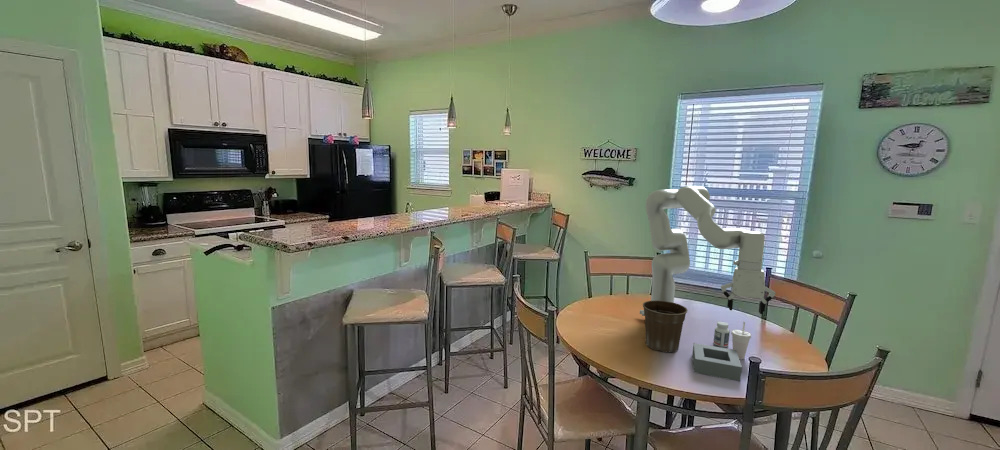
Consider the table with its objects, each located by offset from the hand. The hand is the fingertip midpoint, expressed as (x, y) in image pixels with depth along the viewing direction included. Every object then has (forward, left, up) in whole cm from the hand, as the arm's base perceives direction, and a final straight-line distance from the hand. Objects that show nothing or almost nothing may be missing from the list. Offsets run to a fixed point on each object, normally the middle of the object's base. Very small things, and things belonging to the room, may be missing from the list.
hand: (745, 311), depth 153 cm
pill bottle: (-5, +10, -18) cm, 22 cm away
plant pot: (-27, -2, -18) cm, 33 cm away
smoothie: (0, 0, -18) cm, 18 cm away
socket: (-9, -13, -18) cm, 24 cm away
